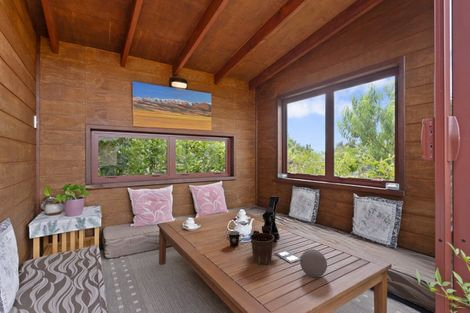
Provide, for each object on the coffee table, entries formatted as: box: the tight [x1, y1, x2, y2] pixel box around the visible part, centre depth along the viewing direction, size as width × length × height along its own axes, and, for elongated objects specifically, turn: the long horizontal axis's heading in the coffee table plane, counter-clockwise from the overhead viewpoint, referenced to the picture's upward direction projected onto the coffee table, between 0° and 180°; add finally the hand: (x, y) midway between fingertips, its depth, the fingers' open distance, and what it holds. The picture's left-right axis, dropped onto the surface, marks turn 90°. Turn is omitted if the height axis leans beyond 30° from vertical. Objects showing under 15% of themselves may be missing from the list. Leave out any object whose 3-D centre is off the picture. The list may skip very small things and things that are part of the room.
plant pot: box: [249, 232, 274, 266], centre depth 154 cm, size 16×16×16 cm
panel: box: [274, 249, 301, 264], centre depth 159 cm, size 10×16×1 cm, turn 30°
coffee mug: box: [228, 230, 245, 248], centre depth 180 cm, size 12×9×10 cm
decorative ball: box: [299, 248, 328, 278], centre depth 135 cm, size 15×15×15 cm
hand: (264, 246), depth 161 cm, fingers closed
